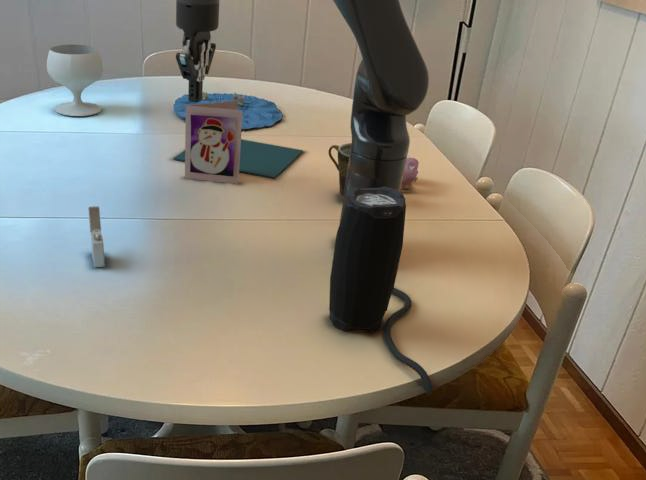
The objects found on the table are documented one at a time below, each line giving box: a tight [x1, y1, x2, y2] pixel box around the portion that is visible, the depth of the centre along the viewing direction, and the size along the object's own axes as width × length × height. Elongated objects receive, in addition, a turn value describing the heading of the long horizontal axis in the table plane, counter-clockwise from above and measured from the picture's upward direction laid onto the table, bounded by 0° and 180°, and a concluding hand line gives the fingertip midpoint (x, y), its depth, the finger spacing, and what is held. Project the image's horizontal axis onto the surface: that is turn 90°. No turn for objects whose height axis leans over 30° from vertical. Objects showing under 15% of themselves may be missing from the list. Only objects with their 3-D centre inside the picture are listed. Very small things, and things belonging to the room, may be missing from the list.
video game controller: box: [401, 155, 419, 190], centre depth 151 cm, size 10×5×7 cm, turn 168°
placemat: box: [173, 138, 304, 180], centre depth 163 cm, size 20×24×1 cm
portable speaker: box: [328, 187, 407, 333], centre depth 100 cm, size 9×9×20 cm
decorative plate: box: [173, 91, 283, 130], centre depth 190 cm, size 30×30×5 cm
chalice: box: [46, 44, 104, 117], centre depth 182 cm, size 14×14×15 cm
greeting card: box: [184, 101, 243, 185], centre depth 148 cm, size 11×7×15 cm, turn 80°
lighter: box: [87, 206, 106, 268], centre depth 116 cm, size 7×2×8 cm, turn 13°
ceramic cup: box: [328, 142, 352, 202], centre depth 143 cm, size 13×10×10 cm
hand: (195, 101), depth 134 cm, fingers closed
